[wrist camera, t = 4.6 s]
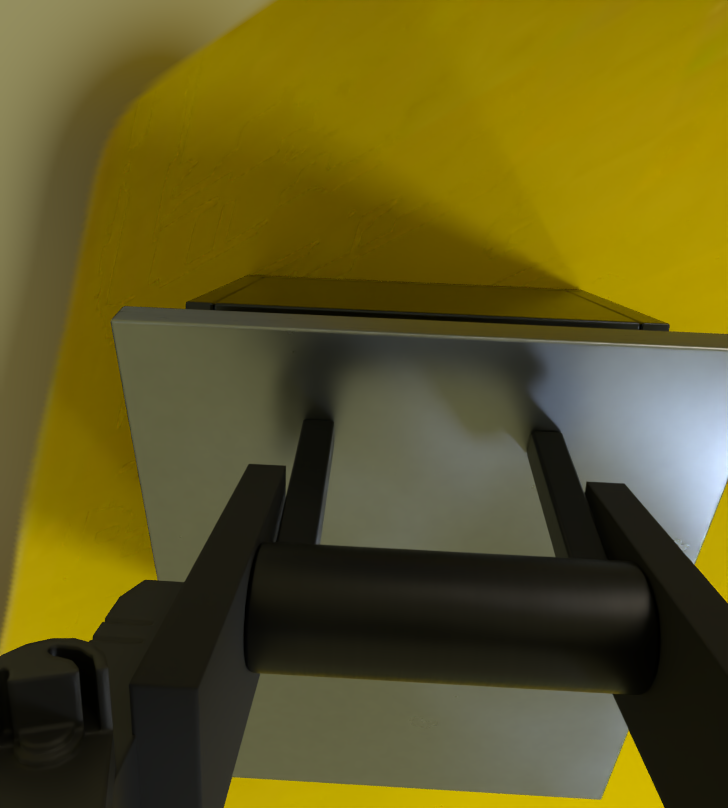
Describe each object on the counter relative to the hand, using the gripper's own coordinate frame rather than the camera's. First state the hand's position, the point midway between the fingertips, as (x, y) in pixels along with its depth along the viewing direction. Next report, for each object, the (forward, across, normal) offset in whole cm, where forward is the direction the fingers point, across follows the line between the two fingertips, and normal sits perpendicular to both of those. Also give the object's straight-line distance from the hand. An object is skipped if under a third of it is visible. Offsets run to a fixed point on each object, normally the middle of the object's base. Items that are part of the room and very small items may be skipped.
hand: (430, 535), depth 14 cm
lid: (+4, 0, -4) cm, 5 cm away
